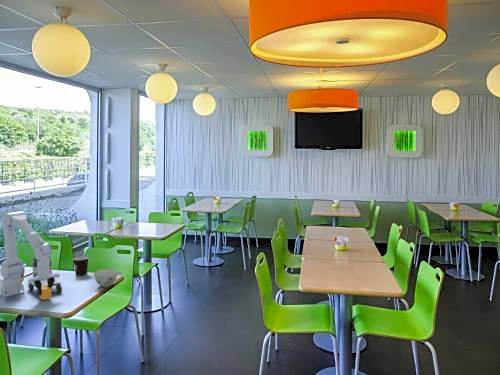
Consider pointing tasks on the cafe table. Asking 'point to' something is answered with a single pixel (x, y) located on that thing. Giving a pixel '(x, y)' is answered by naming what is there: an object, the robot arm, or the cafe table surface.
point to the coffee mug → (81, 265)
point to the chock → (45, 293)
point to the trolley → (44, 283)
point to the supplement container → (36, 267)
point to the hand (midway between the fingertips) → (44, 293)
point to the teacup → (106, 277)
